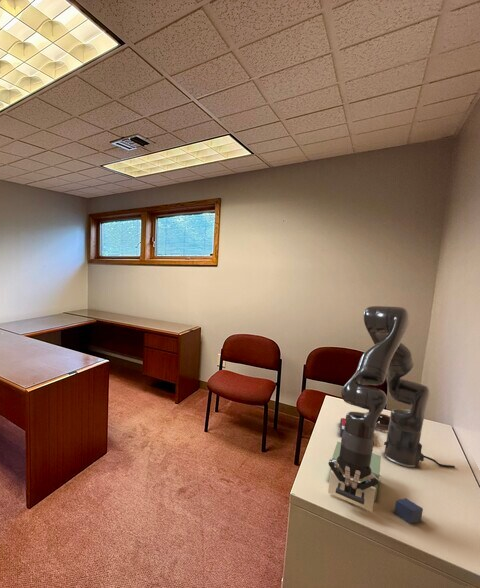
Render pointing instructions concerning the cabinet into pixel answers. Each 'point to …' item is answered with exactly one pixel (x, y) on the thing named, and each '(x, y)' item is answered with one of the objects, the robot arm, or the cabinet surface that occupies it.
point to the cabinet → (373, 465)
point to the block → (408, 510)
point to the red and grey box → (342, 426)
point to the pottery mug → (382, 422)
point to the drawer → (360, 499)
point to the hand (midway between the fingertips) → (349, 496)
